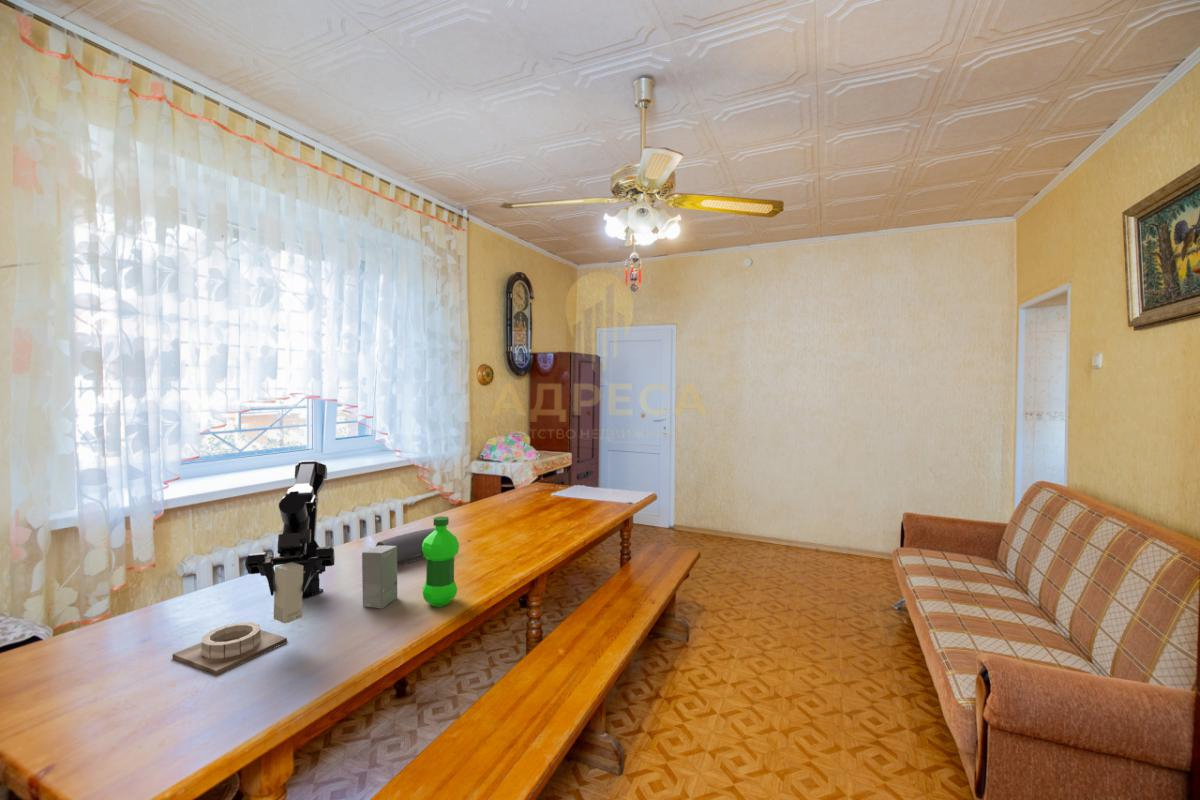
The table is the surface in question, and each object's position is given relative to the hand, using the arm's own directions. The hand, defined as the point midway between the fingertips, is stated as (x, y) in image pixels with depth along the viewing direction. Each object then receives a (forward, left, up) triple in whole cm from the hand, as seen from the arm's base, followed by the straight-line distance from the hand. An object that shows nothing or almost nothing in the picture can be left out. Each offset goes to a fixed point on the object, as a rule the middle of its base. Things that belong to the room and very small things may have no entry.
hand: (287, 593), depth 122 cm
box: (-1, +1, -7) cm, 7 cm away
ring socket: (-11, -6, -13) cm, 18 cm away
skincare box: (-1, +29, -13) cm, 32 cm away
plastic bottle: (+15, +36, -13) cm, 41 cm away
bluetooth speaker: (-19, +60, -14) cm, 64 cm away
